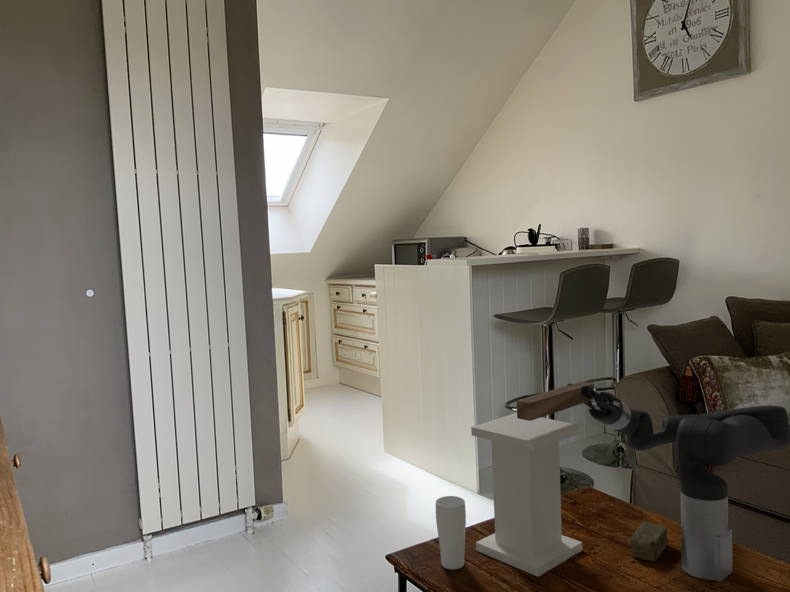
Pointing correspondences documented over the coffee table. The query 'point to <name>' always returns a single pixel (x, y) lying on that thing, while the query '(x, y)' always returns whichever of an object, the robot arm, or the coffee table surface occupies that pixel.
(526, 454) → the shelf stand
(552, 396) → the walnut bar
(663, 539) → the stone block
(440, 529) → the drinking glass
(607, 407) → the robot arm
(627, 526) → the coffee table surface
